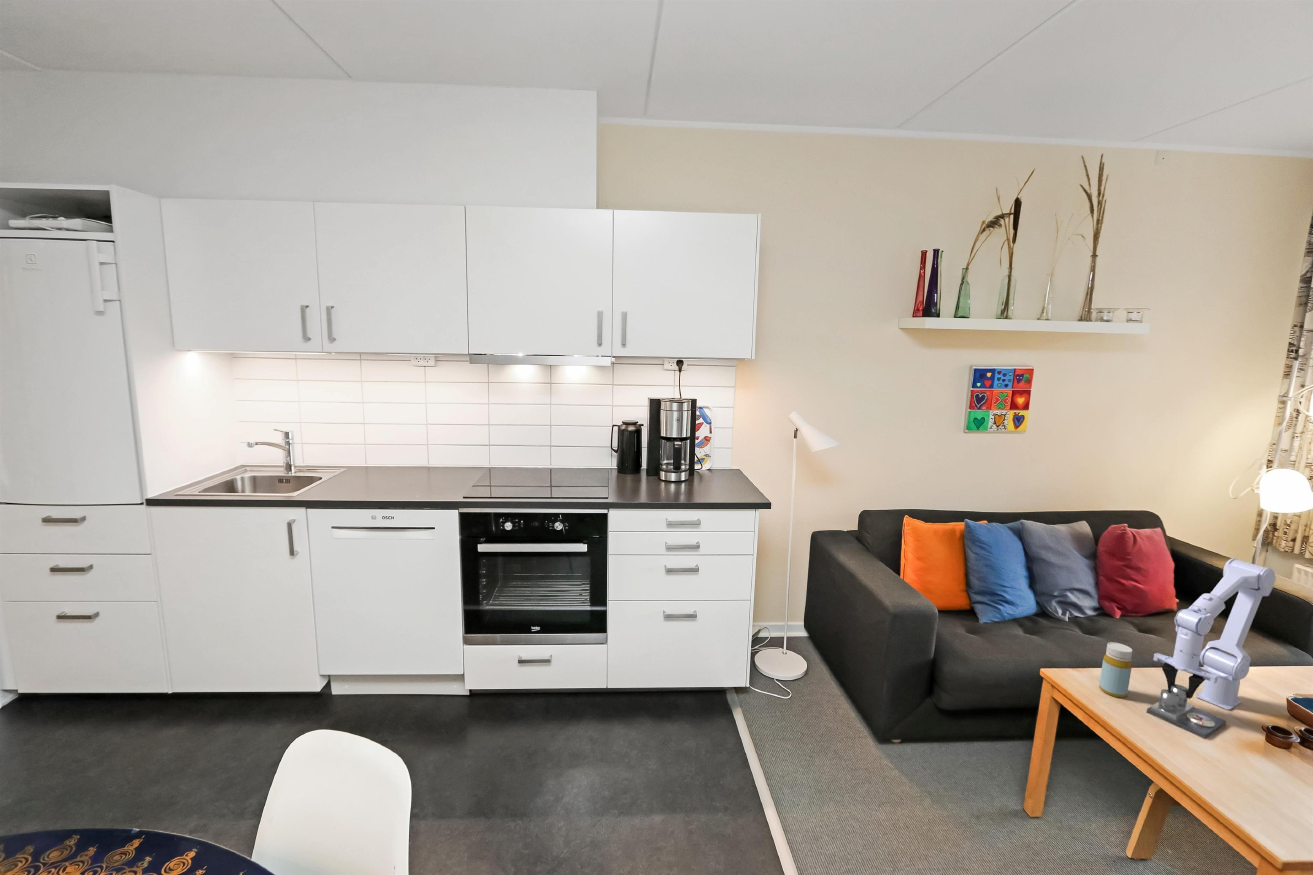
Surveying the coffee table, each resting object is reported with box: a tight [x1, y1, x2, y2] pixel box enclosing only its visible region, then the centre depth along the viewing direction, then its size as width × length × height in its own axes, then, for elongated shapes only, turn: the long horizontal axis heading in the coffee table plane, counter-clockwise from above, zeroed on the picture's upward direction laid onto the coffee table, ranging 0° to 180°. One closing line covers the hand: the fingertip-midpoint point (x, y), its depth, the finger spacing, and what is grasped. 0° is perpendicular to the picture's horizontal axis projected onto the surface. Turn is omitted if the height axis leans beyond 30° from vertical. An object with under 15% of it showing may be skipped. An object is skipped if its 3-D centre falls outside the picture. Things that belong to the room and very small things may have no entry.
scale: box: [1146, 701, 1227, 739], centre depth 175 cm, size 14×14×2 cm
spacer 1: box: [1158, 688, 1179, 713], centre depth 175 cm, size 4×4×5 cm
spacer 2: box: [1171, 683, 1189, 707], centre depth 178 cm, size 4×4×5 cm
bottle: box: [1099, 641, 1133, 699], centre depth 186 cm, size 7×7×15 cm
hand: (1179, 693), depth 179 cm, fingers closed on spacer 2, 4 cm apart
